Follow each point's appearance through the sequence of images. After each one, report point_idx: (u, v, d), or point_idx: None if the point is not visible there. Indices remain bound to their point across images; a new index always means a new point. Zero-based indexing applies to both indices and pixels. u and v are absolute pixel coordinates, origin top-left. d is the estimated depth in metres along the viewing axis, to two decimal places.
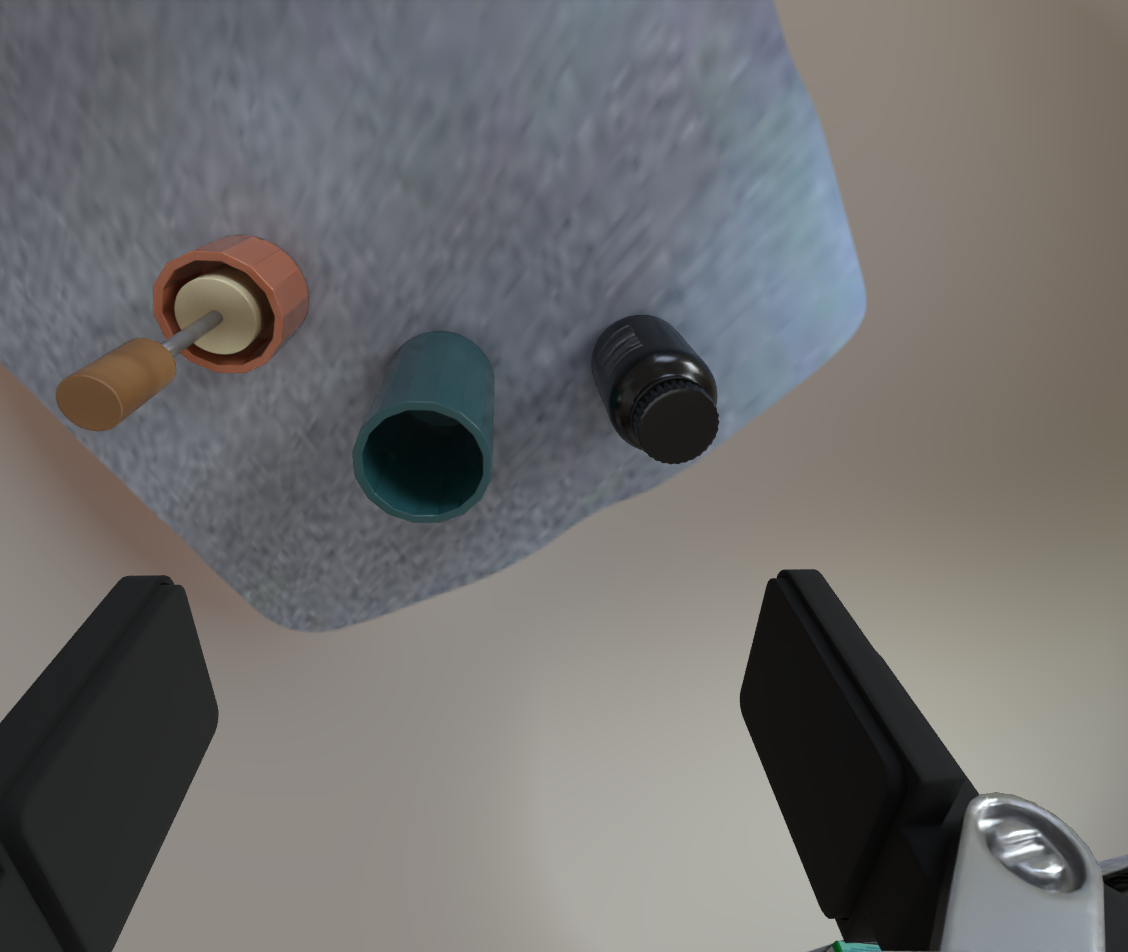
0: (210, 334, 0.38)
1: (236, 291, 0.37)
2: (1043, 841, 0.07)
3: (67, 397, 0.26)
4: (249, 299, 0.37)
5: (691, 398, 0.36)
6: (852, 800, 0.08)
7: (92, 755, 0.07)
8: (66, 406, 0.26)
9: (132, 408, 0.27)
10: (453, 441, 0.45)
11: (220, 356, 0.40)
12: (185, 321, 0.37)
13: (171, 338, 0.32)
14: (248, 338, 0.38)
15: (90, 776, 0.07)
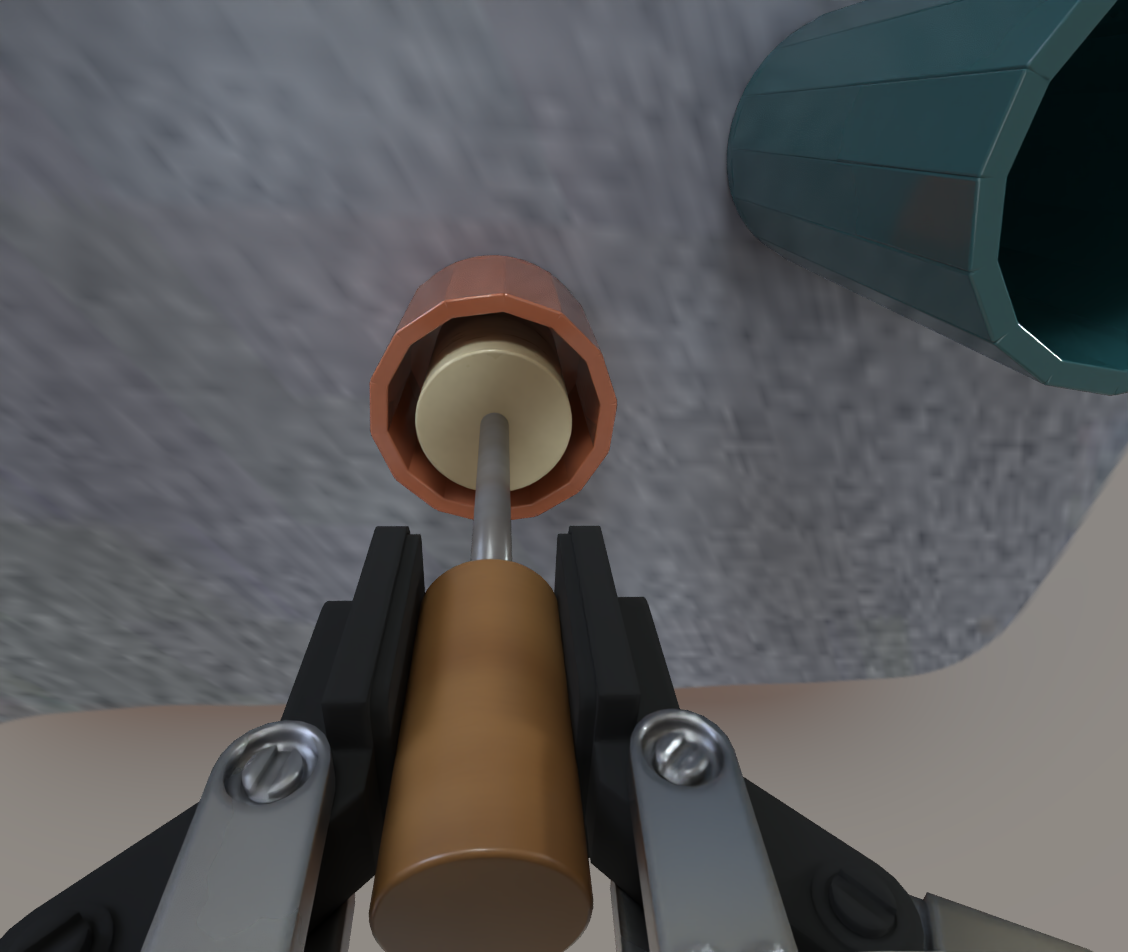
0: (517, 454, 0.19)
1: (472, 357, 0.17)
2: (688, 738, 0.08)
3: (429, 950, 0.07)
4: (498, 346, 0.18)
5: None
6: (573, 723, 0.09)
7: (401, 666, 0.09)
8: None
9: (571, 800, 0.08)
10: None
11: (559, 468, 0.21)
12: (473, 475, 0.19)
13: (475, 524, 0.13)
14: (559, 400, 0.18)
15: (401, 683, 0.09)
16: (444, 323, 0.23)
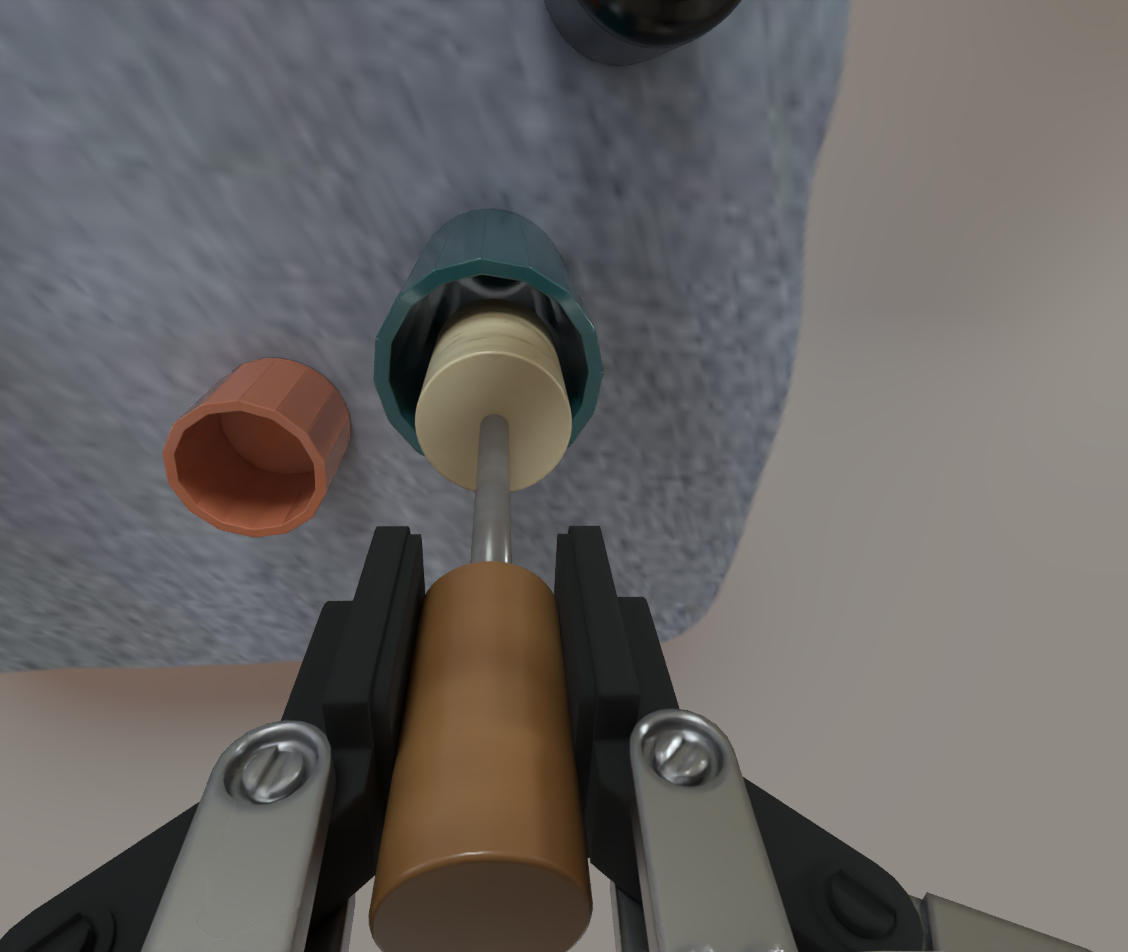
0: (517, 456, 0.19)
1: (472, 358, 0.17)
2: (687, 738, 0.08)
3: None
4: (498, 348, 0.18)
5: None
6: (572, 723, 0.09)
7: (401, 665, 0.09)
8: None
9: (570, 803, 0.08)
10: (560, 322, 0.30)
11: (306, 501, 0.32)
12: (473, 477, 0.19)
13: (475, 526, 0.14)
14: (559, 401, 0.18)
15: (401, 682, 0.09)
16: (444, 324, 0.23)
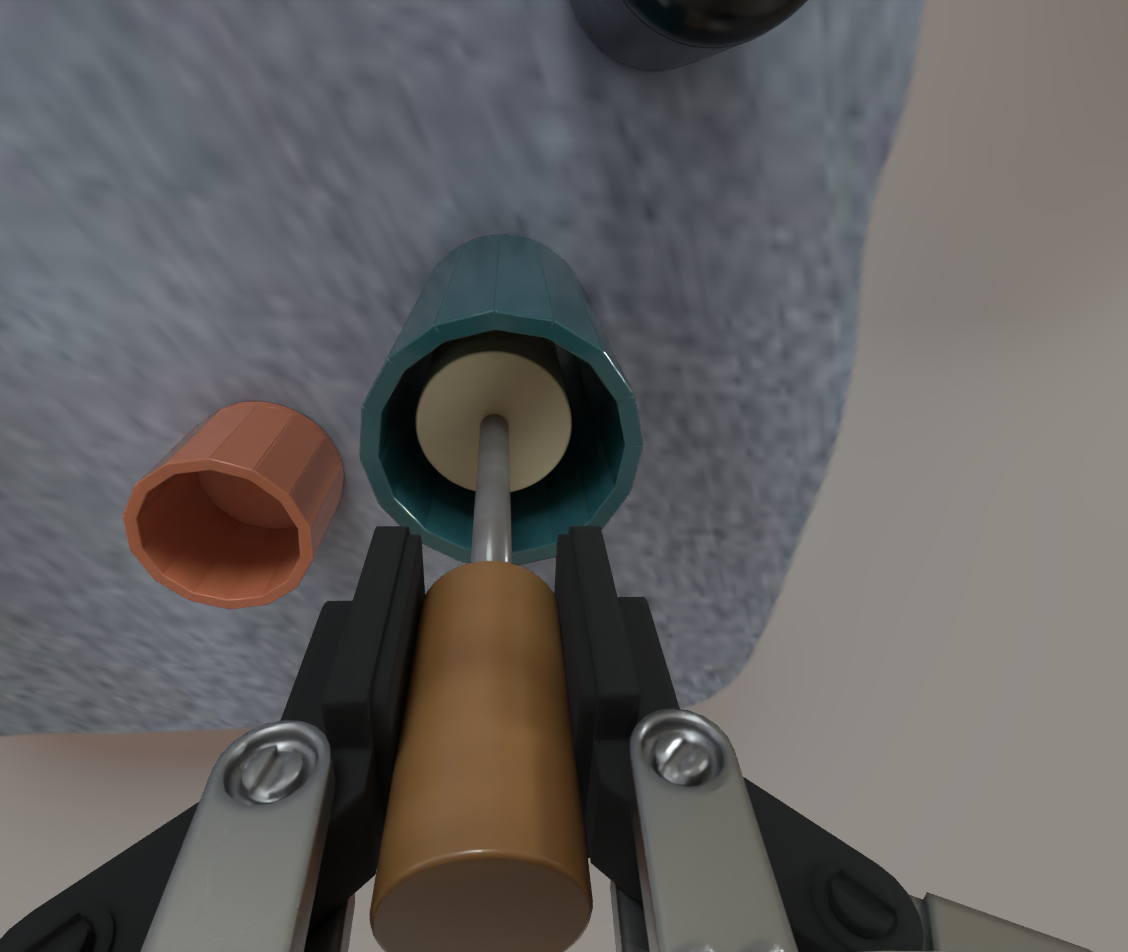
0: (517, 456, 0.19)
1: (472, 358, 0.17)
2: (688, 738, 0.08)
3: (429, 950, 0.07)
4: (498, 348, 0.18)
5: None
6: (572, 723, 0.09)
7: (401, 665, 0.09)
8: None
9: (571, 802, 0.08)
10: (582, 365, 0.26)
11: (290, 566, 0.28)
12: (473, 477, 0.19)
13: (475, 526, 0.14)
14: (559, 402, 0.18)
15: (401, 682, 0.09)
16: None
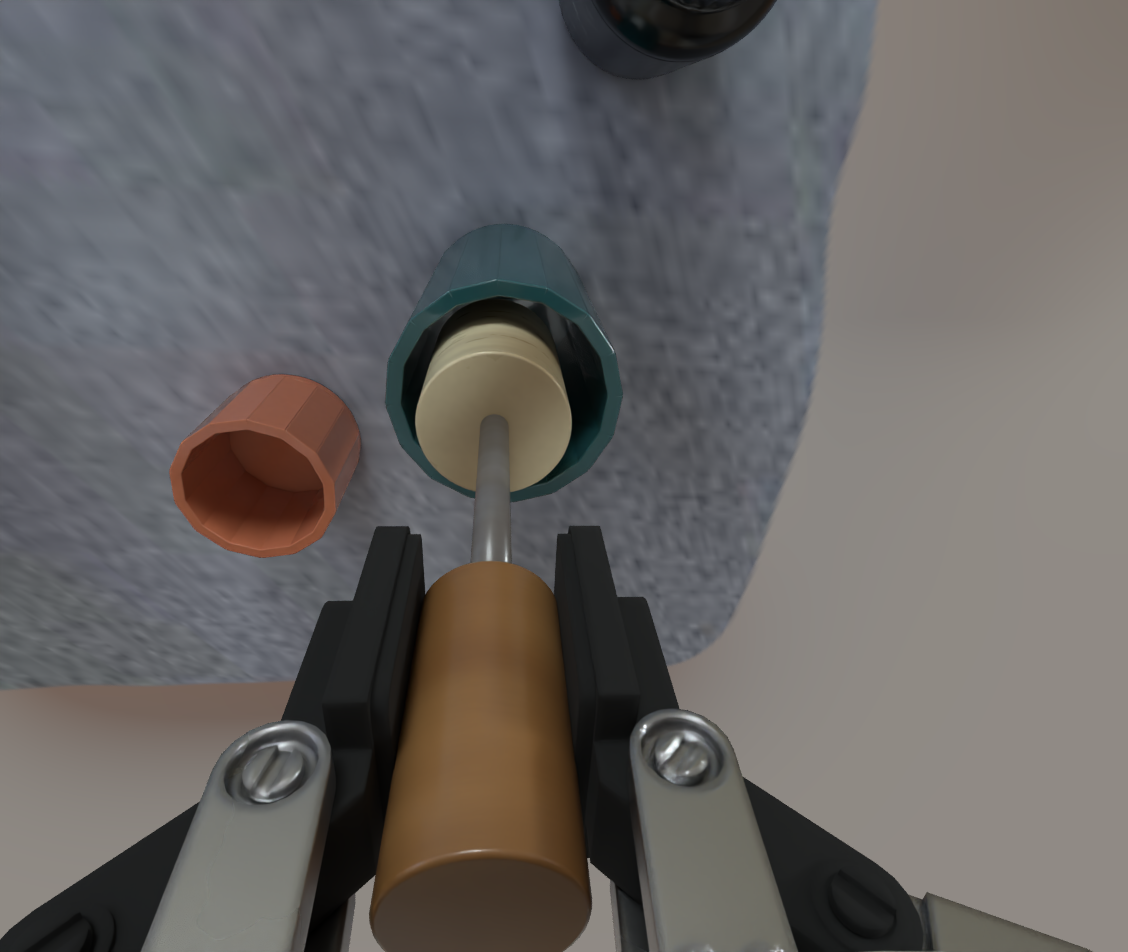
0: (517, 456, 0.19)
1: (472, 359, 0.17)
2: (687, 738, 0.08)
3: (429, 950, 0.07)
4: (498, 348, 0.18)
5: None
6: (572, 723, 0.09)
7: (401, 665, 0.09)
8: None
9: (570, 802, 0.08)
10: (575, 340, 0.30)
11: (314, 521, 0.32)
12: (473, 477, 0.19)
13: (475, 526, 0.14)
14: (558, 402, 0.18)
15: (401, 682, 0.09)
16: (444, 324, 0.23)
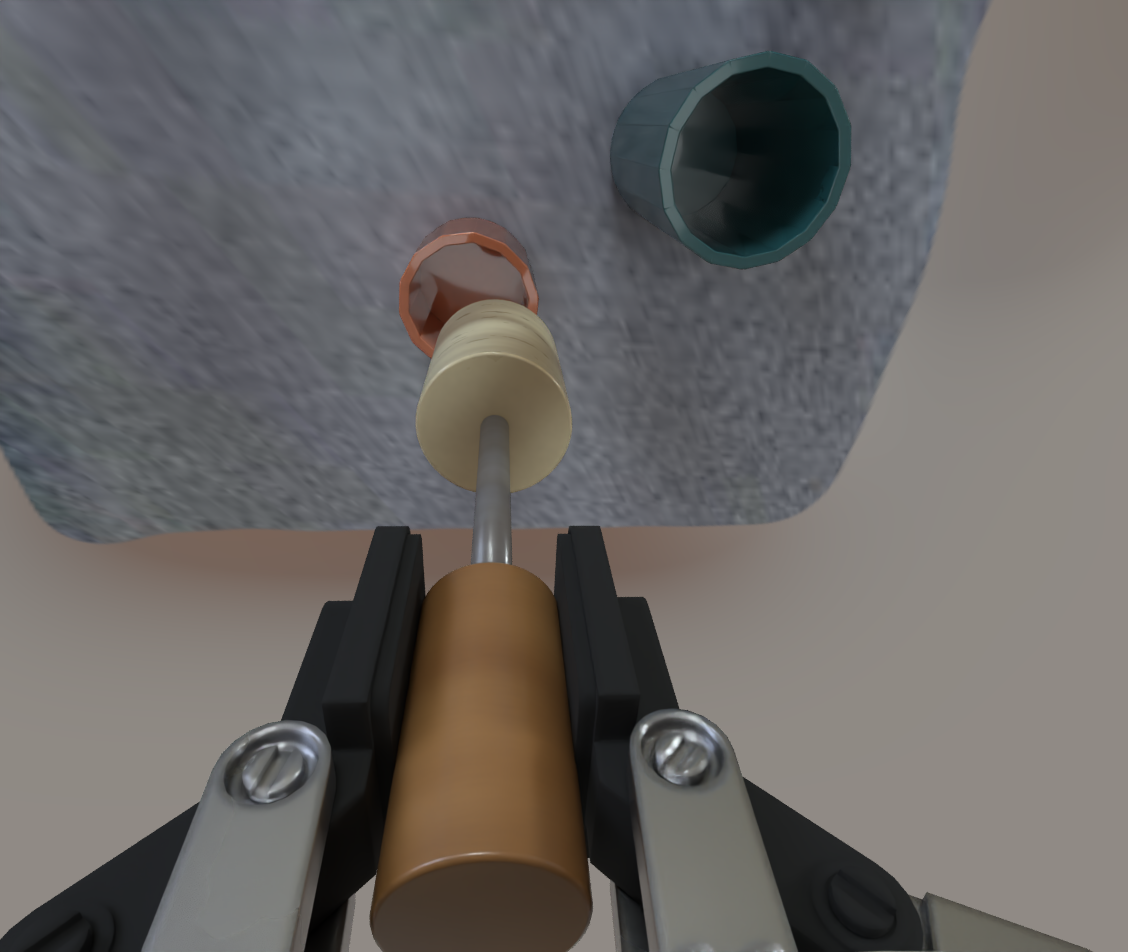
0: (518, 456, 0.19)
1: (473, 359, 0.17)
2: (688, 738, 0.08)
3: None
4: (498, 349, 0.18)
5: None
6: (572, 723, 0.09)
7: (401, 665, 0.09)
8: None
9: (571, 804, 0.08)
10: (749, 175, 0.34)
11: None
12: (474, 477, 0.19)
13: (475, 527, 0.14)
14: (559, 403, 0.18)
15: (402, 682, 0.09)
16: (444, 325, 0.23)
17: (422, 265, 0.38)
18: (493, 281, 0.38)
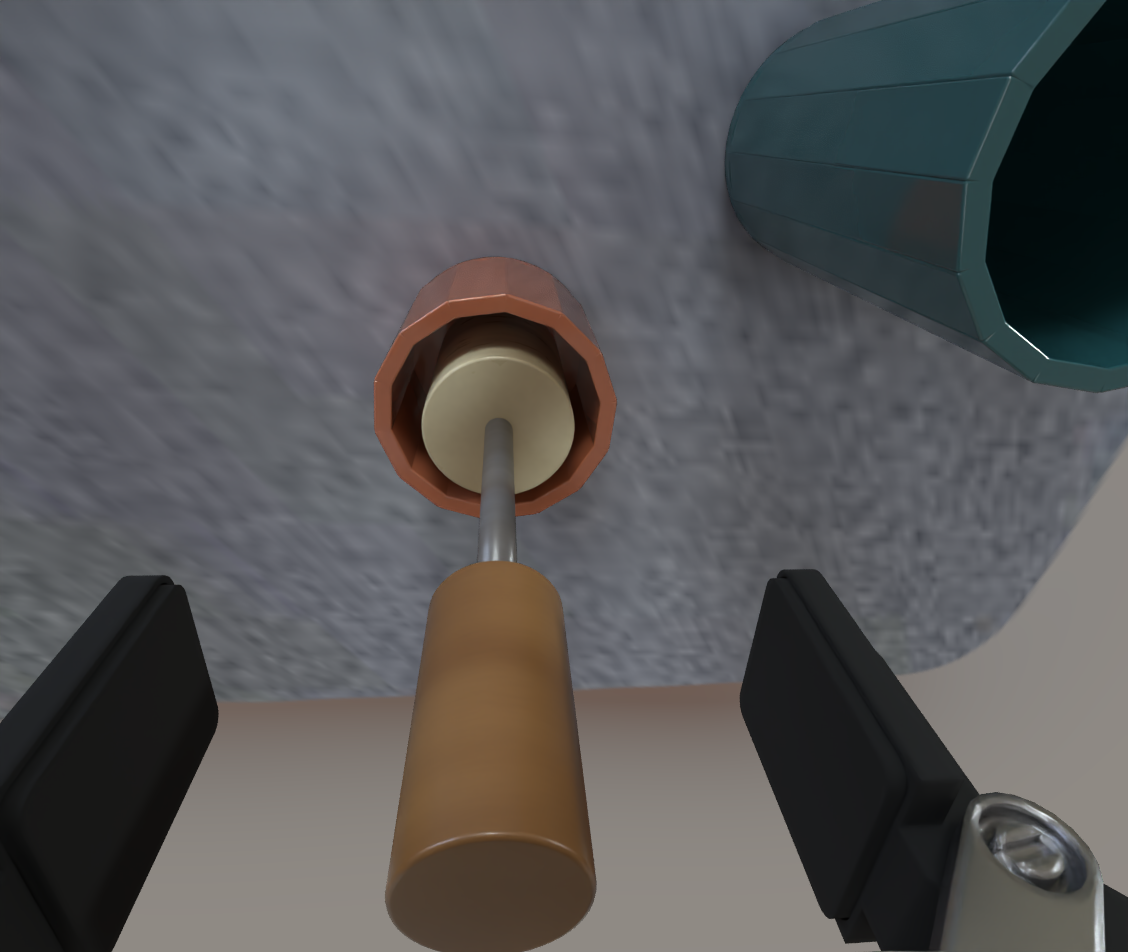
0: (521, 459, 0.19)
1: (477, 364, 0.18)
2: (1043, 841, 0.07)
3: (441, 929, 0.08)
4: (502, 353, 0.18)
5: None
6: (852, 800, 0.08)
7: (92, 755, 0.07)
8: (464, 943, 0.08)
9: (575, 789, 0.08)
10: None
11: (560, 466, 0.21)
12: (478, 479, 0.20)
13: (481, 527, 0.14)
14: (562, 406, 0.19)
15: (90, 776, 0.07)
16: (449, 329, 0.23)
17: None
18: None
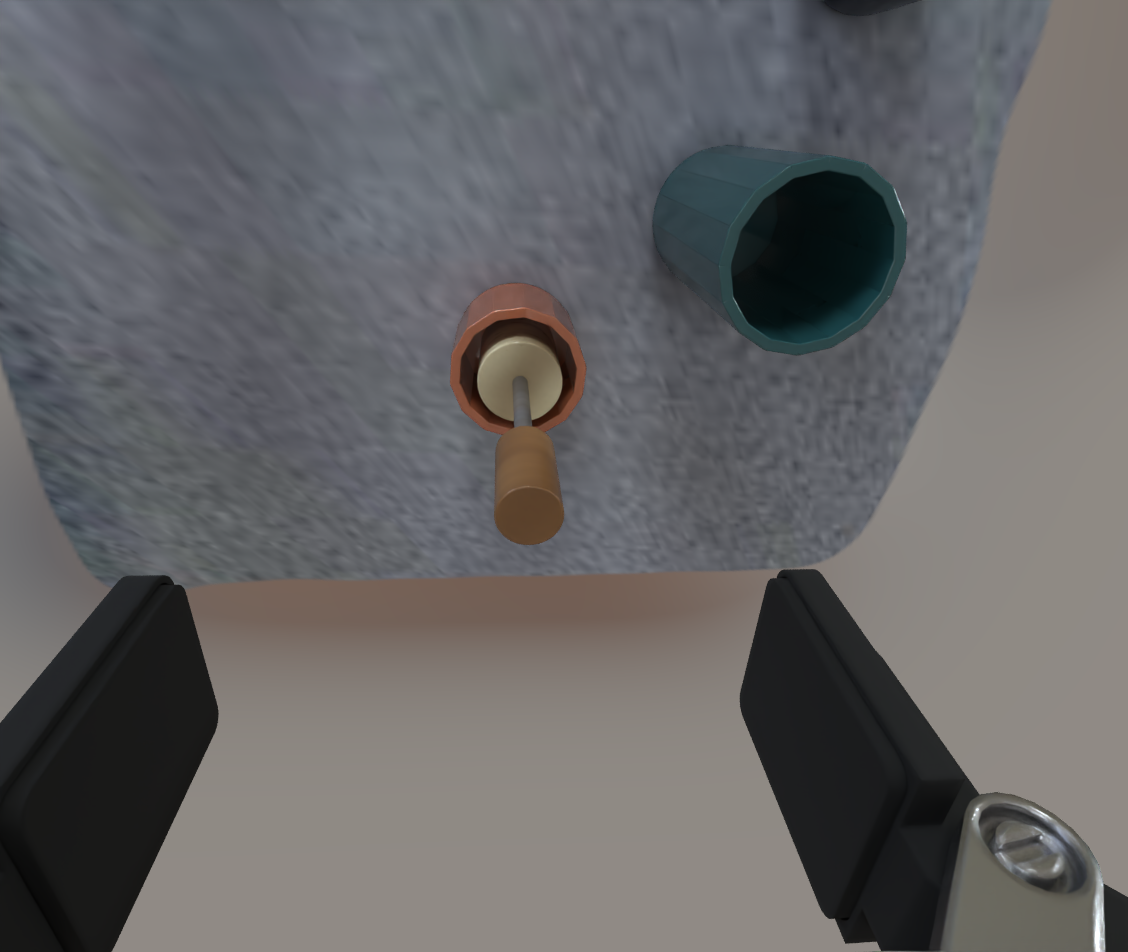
0: (532, 399, 0.34)
1: (509, 345, 0.33)
2: (1043, 841, 0.07)
3: (512, 528, 0.23)
4: (522, 340, 0.33)
5: None
6: (852, 800, 0.08)
7: (92, 755, 0.07)
8: (519, 536, 0.23)
9: (557, 487, 0.23)
10: (791, 244, 0.34)
11: (554, 407, 0.36)
12: (508, 411, 0.34)
13: (515, 422, 0.29)
14: (555, 369, 0.34)
15: (90, 776, 0.07)
16: (487, 327, 0.38)
17: None
18: None
